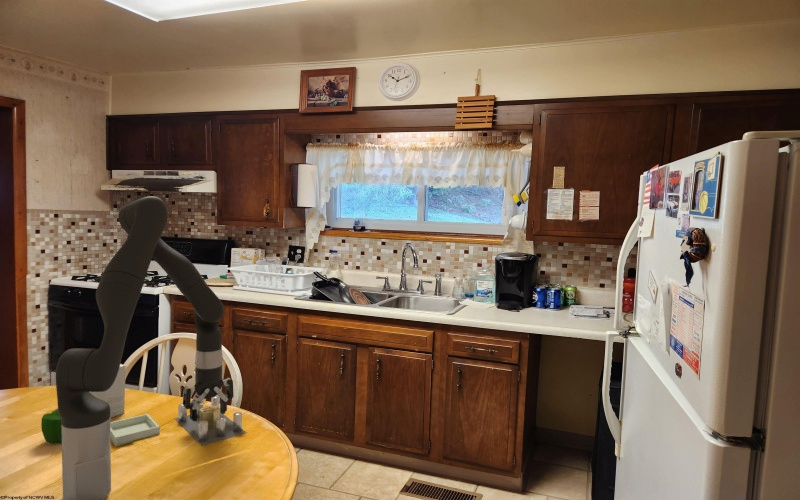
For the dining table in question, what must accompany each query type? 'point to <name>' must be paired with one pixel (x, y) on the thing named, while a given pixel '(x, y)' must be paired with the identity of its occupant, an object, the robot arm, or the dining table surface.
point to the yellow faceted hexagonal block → (209, 415)
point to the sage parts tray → (132, 429)
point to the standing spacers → (204, 424)
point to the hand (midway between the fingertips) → (208, 416)
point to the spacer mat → (209, 430)
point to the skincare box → (115, 394)
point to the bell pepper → (52, 427)
